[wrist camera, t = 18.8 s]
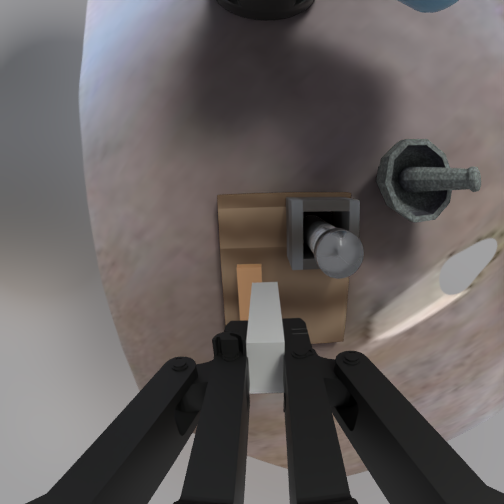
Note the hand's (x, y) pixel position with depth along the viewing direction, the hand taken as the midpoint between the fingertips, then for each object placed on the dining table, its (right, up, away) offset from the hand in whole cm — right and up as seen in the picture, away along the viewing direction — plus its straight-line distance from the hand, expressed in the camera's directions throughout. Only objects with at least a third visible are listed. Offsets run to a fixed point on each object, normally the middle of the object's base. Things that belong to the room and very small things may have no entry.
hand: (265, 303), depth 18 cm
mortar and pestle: (+19, +13, +18) cm, 29 cm away
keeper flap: (-1, -3, +19) cm, 19 cm away
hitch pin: (+7, +6, +19) cm, 21 cm away
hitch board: (+4, +1, +21) cm, 21 cm away
